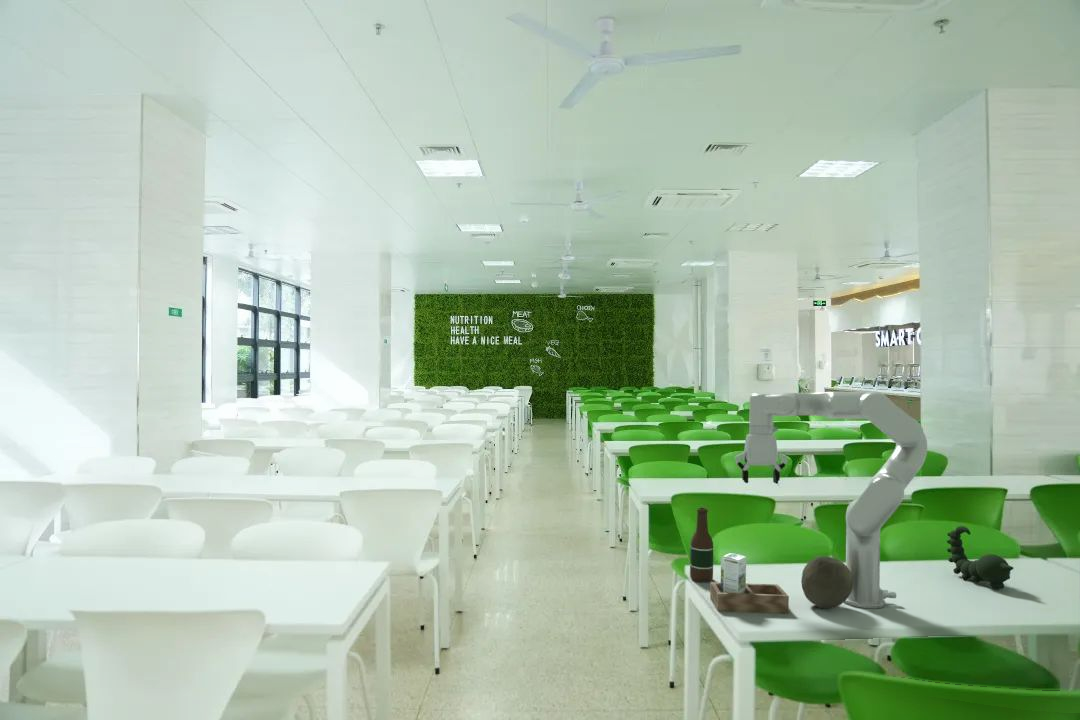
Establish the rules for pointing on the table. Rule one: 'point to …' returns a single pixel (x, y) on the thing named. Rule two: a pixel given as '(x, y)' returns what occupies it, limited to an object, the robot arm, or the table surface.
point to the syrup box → (733, 573)
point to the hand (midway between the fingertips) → (760, 482)
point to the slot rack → (751, 599)
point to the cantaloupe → (826, 582)
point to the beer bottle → (701, 550)
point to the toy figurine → (977, 563)
